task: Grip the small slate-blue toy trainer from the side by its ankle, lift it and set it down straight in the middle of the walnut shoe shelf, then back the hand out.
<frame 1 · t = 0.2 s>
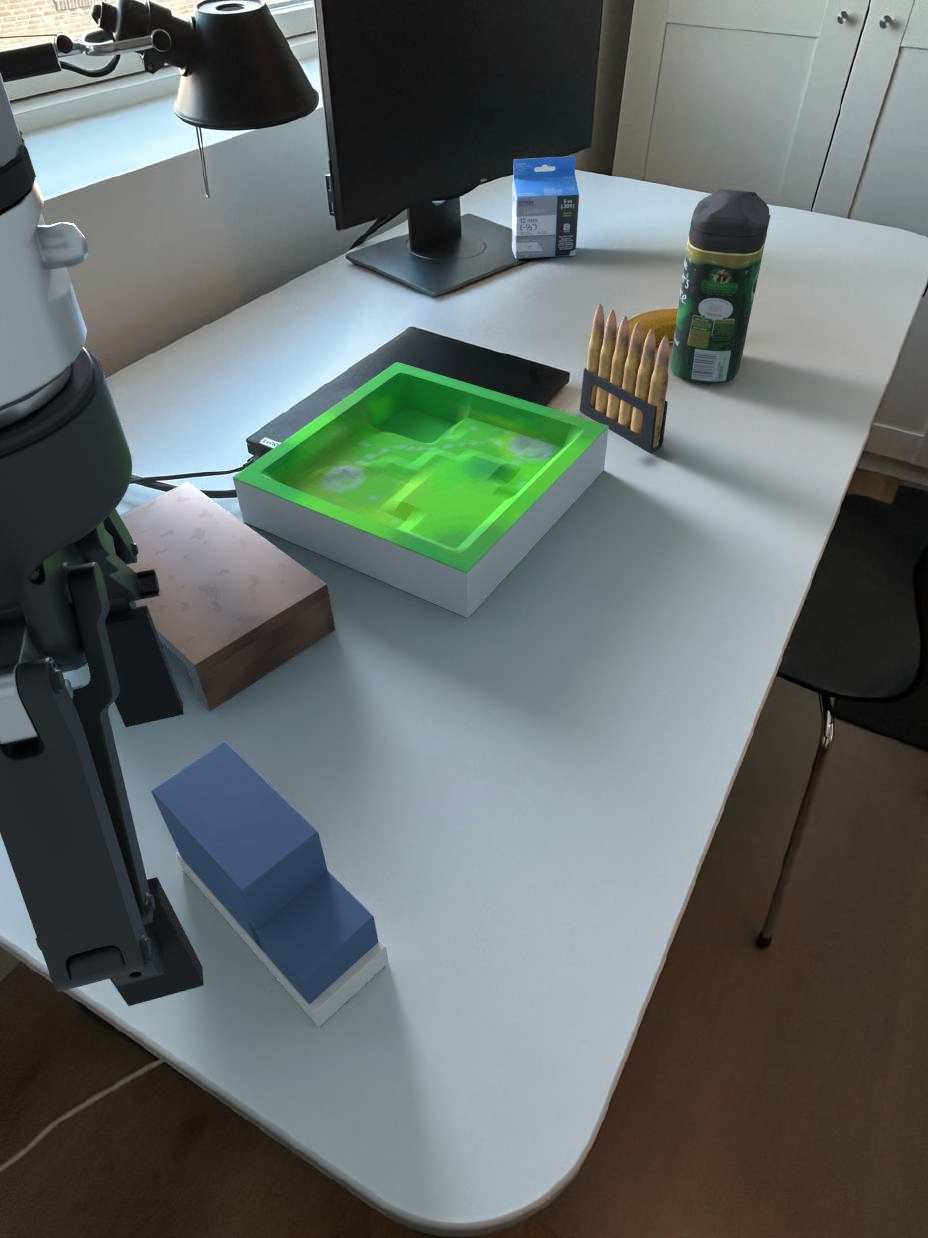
hand: (160, 834, 37), 18 cm above the table, tool pointing down, fingers open, 13 cm apart
tray: (429, 496, 85), on the table
label tape box: (543, 254, 127), on the table
trainer: (281, 914, 54), on the table
shelf: (204, 608, 74), on the table
coffee jar: (703, 369, 102), on the table
ammunition clip: (619, 429, 93), on the table
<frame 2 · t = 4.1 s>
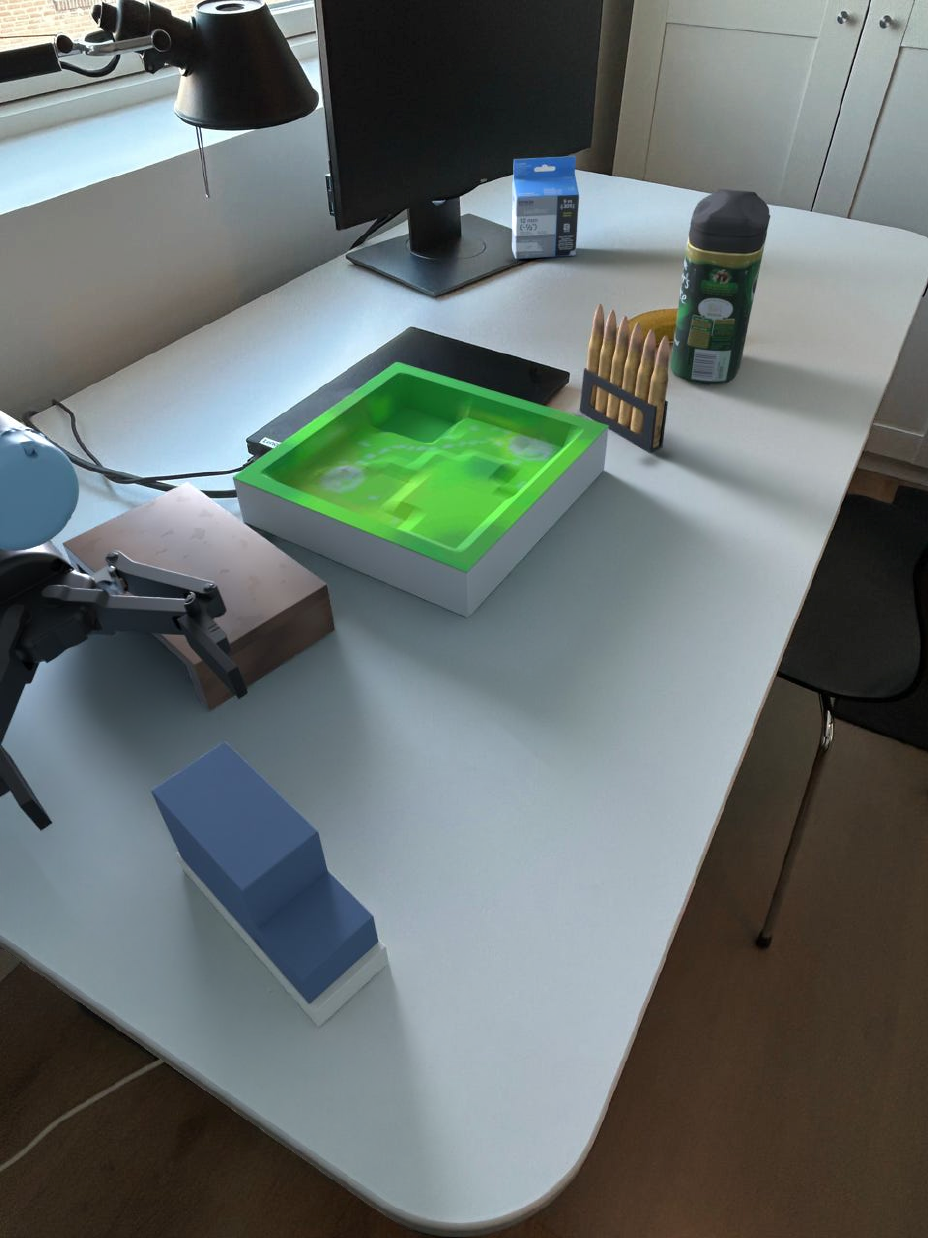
hand: (143, 746, 53), 8 cm above the table, tool horizontal, fingers open, 13 cm apart
nothing on the table moved.
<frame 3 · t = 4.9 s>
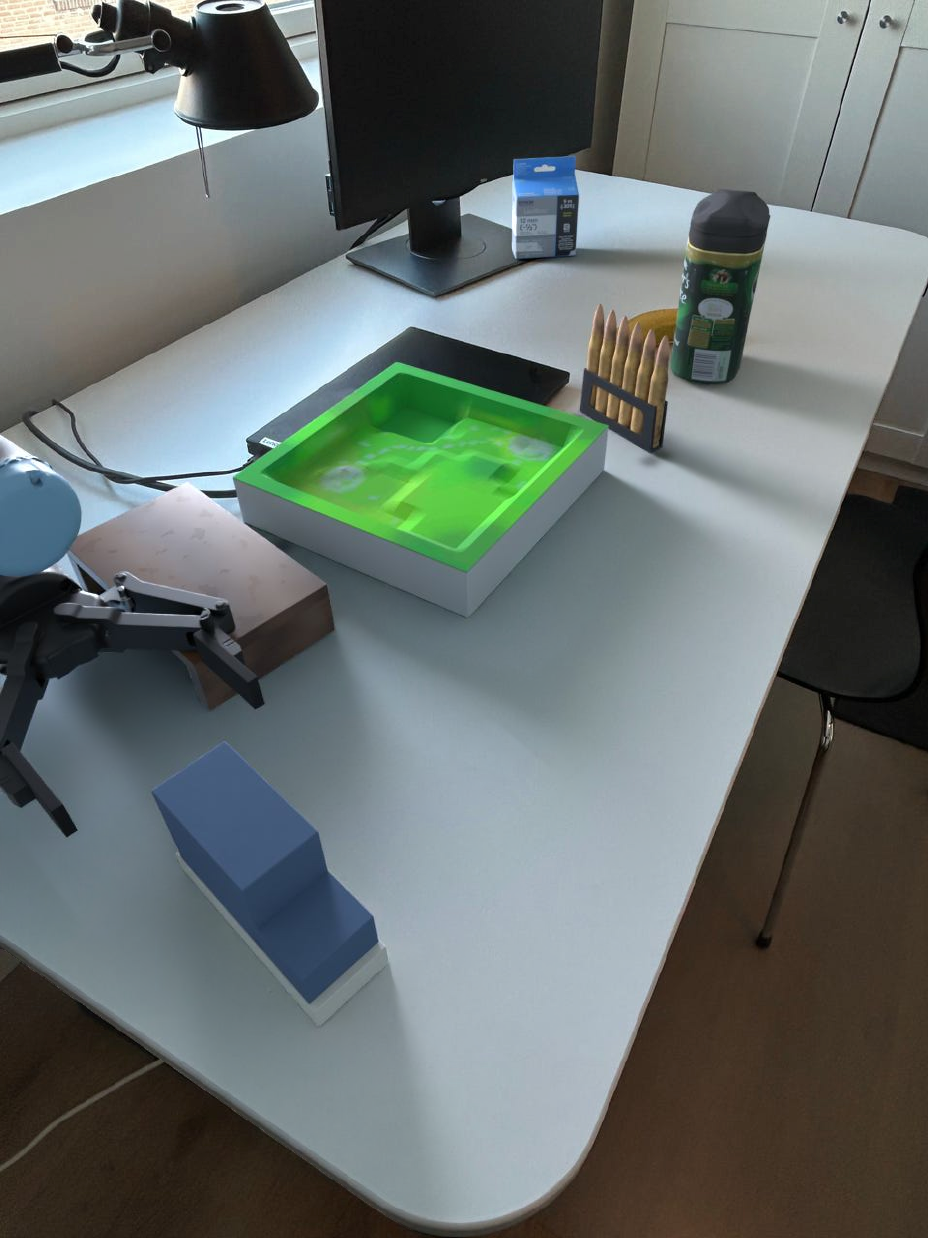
hand: (167, 754, 55), 6 cm above the table, tool horizontal, fingers open, 13 cm apart
nothing on the table moved.
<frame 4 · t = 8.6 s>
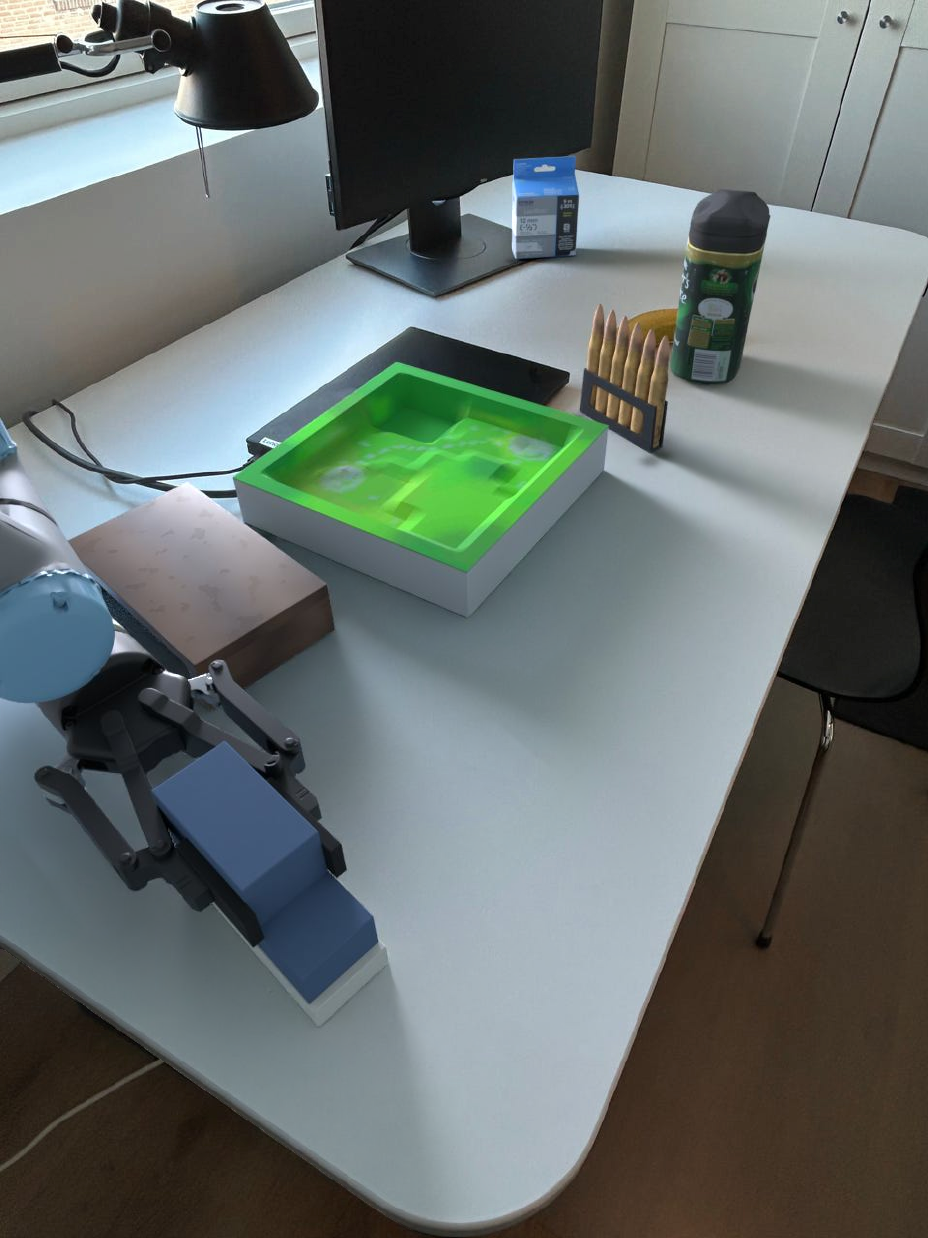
hand: (297, 894, 47), 7 cm above the table, tool horizontal, fingers closed on trainer, 5 cm apart
trainer: (281, 914, 54), on the table, touching gripper
everything else where it was.
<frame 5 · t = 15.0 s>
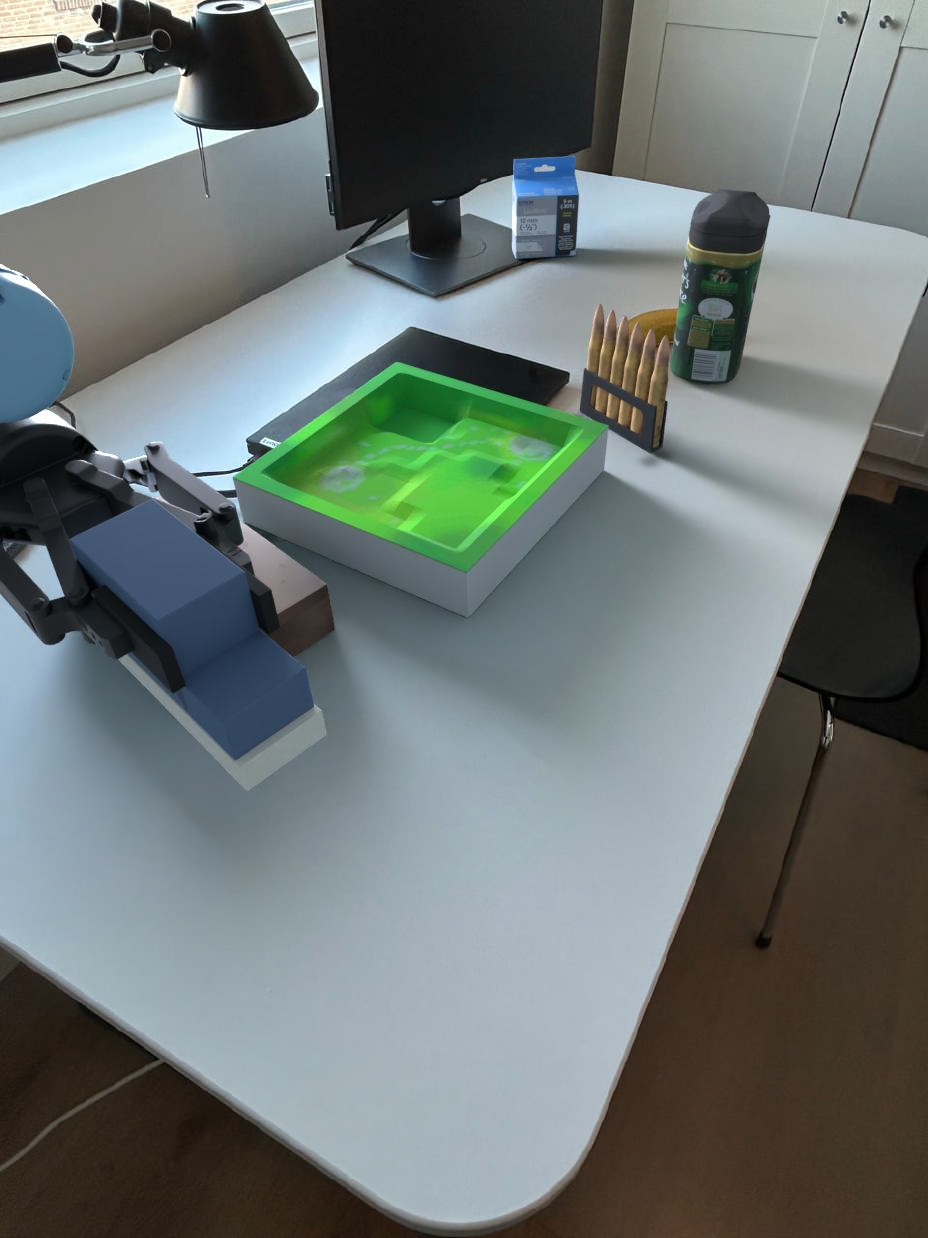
hand: (222, 640, 44), 19 cm above the table, tool horizontal, fingers closed on trainer, 5 cm apart
trainer: (215, 692, 50), point 13 cm above the table, touching gripper
everything else where it was.
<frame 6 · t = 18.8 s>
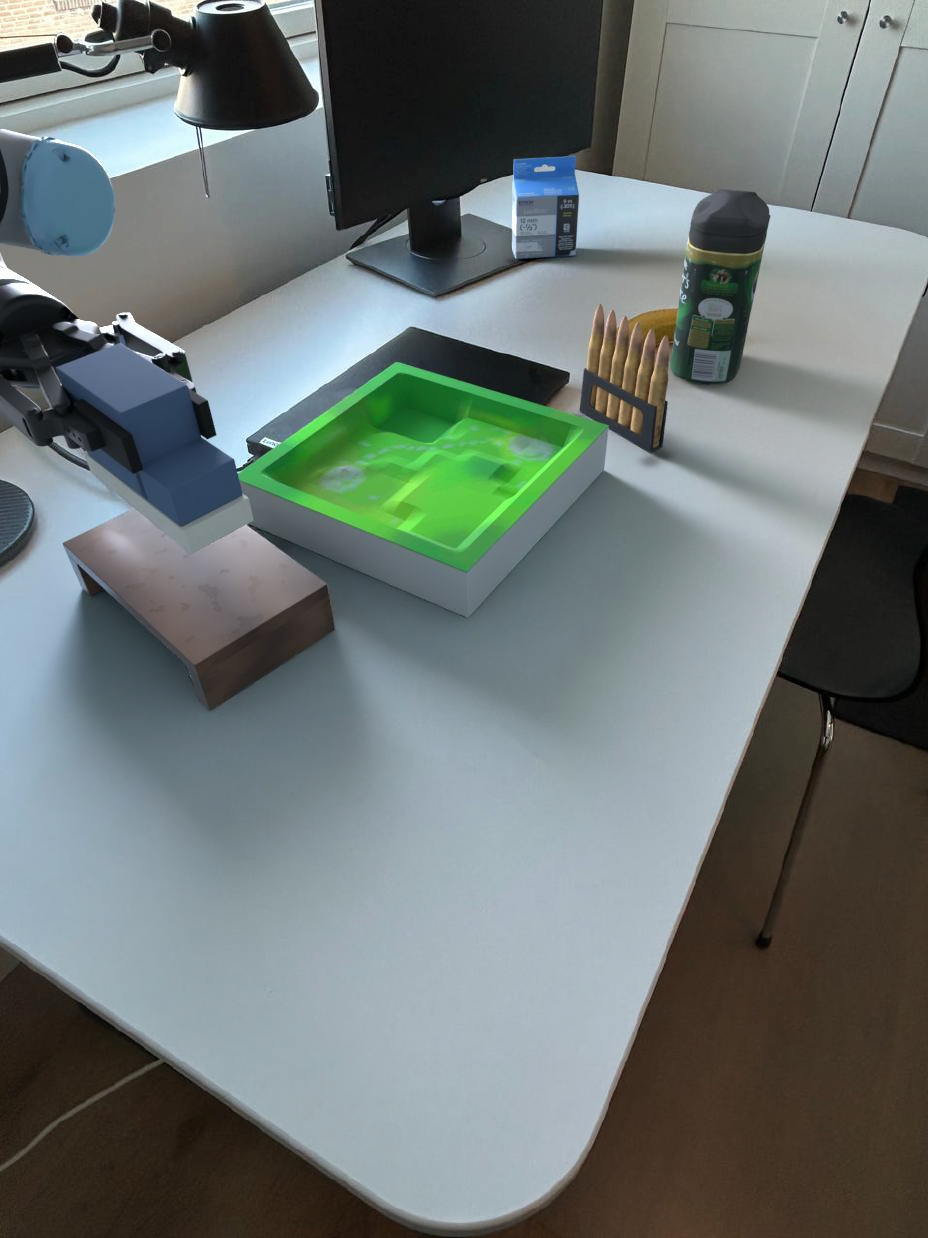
hand: (170, 436, 58), 19 cm above the table, tool horizontal, fingers closed on trainer, 5 cm apart
trainer: (169, 496, 65), point 12 cm above the table, touching gripper
everything else where it was.
when the fingers open (11 cm above the table, at t = 21.7 s): trainer stays where it is, resting on shelf.
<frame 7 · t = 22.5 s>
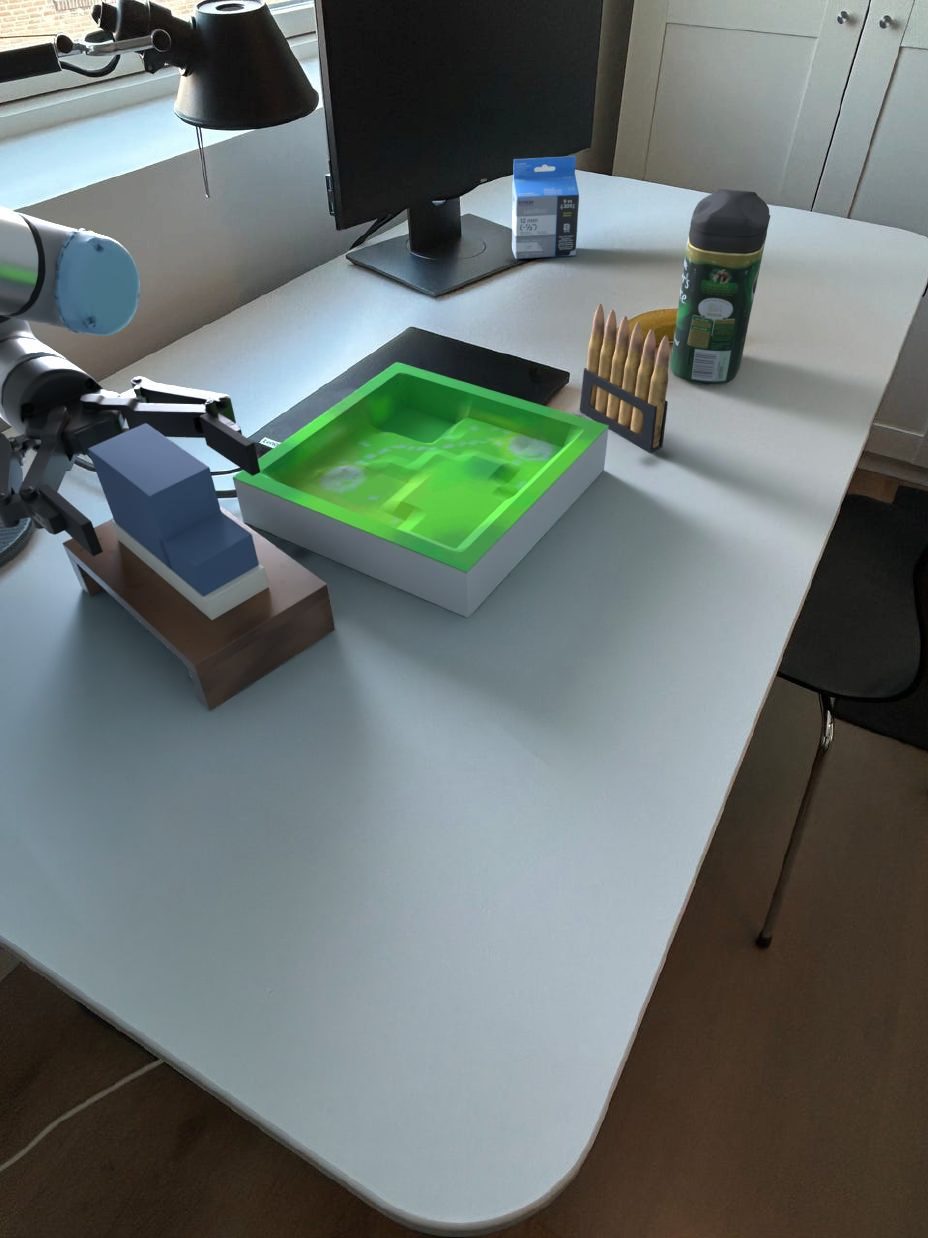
hand: (177, 497, 65), 12 cm above the table, tool horizontal, fingers open, 13 cm apart
trainer: (190, 562, 70), point 5 cm above the table, touching shelf
everything else where it was.
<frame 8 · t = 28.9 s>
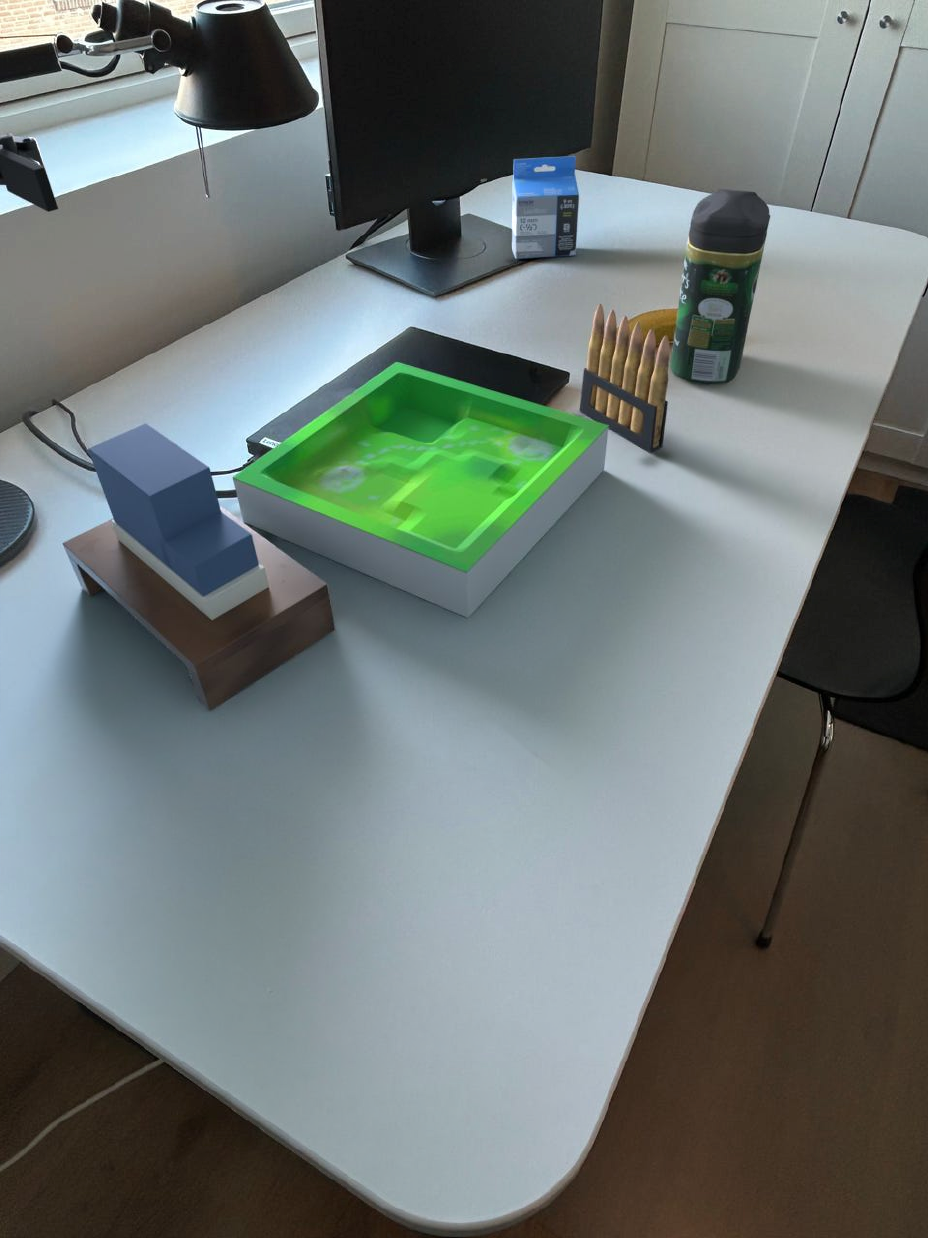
nothing on the table moved.
at the end: trainer inside the target area on the shelf (0.0 cm from its centre), point 5.0 cm above the shelf's base; trainer tilted 0°; the gripper is holding nothing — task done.
